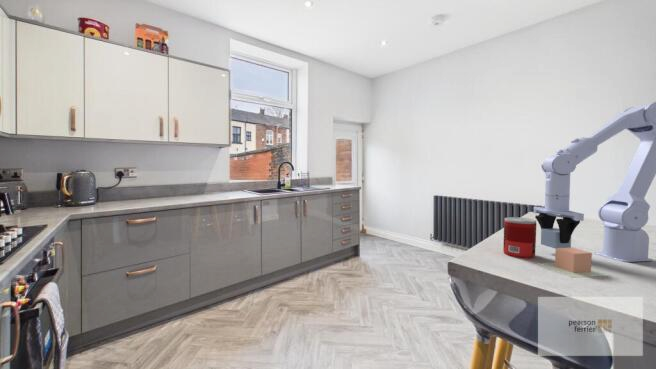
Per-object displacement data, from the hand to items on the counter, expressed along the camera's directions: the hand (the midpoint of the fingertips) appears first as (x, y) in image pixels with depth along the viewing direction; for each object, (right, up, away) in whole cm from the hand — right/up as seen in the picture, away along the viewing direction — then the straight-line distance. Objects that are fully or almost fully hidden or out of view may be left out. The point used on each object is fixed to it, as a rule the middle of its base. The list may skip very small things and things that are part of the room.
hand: (555, 240), depth 87 cm
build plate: (-6, -5, -12) cm, 15 cm away
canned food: (-11, -5, 0) cm, 12 cm away
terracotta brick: (-6, -5, -12) cm, 15 cm away
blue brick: (0, -2, 0) cm, 2 cm away
